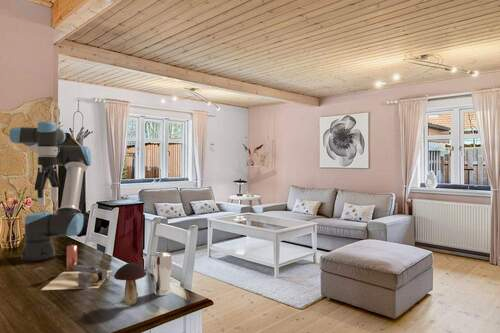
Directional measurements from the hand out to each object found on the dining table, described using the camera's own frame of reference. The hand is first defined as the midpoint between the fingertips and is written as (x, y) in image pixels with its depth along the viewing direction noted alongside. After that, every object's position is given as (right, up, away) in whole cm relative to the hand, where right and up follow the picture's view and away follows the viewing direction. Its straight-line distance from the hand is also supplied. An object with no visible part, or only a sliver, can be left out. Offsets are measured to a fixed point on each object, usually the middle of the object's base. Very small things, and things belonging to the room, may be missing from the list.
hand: (48, 203), depth 156 cm
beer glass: (+58, -33, -23) cm, 70 cm away
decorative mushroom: (+49, -33, -34) cm, 68 cm away
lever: (+22, -29, -11) cm, 38 cm away
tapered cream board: (+21, -32, -13) cm, 40 cm away
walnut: (+29, -31, -18) cm, 45 cm away
